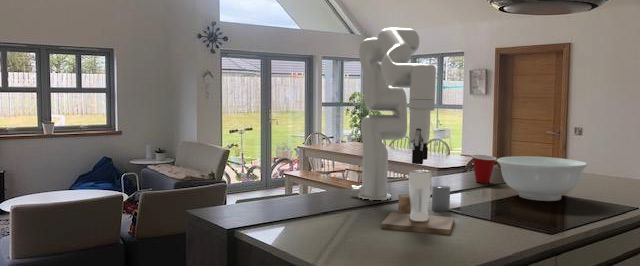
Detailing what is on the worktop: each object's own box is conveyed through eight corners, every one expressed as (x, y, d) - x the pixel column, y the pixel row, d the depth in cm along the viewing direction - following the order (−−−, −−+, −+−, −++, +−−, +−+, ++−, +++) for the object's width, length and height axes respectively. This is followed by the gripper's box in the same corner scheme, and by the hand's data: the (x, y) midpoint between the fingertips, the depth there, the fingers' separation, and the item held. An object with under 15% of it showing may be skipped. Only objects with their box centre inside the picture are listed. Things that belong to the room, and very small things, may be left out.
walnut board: (381, 228, 167) (381, 223, 167) (391, 216, 182) (391, 212, 182) (449, 234, 161) (449, 229, 161) (454, 222, 176) (454, 217, 176)
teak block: (400, 215, 185) (401, 197, 185) (398, 211, 190) (398, 194, 190) (415, 215, 186) (416, 197, 185) (412, 212, 190) (413, 194, 190)
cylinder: (430, 210, 192) (431, 187, 192) (432, 207, 198) (433, 184, 197) (448, 212, 191) (449, 189, 190) (450, 208, 196) (450, 186, 196)
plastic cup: (488, 185, 245) (489, 158, 244) (466, 182, 252) (467, 155, 251) (500, 182, 252) (501, 156, 251) (477, 179, 260) (478, 153, 259)
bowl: (498, 187, 240) (500, 153, 239) (582, 193, 228) (584, 158, 227) (492, 201, 210) (494, 162, 209) (588, 209, 198) (590, 168, 197)
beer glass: (430, 223, 168) (432, 173, 167) (407, 222, 169) (408, 172, 168) (430, 218, 175) (432, 170, 174) (408, 216, 176) (409, 169, 175)
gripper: (413, 103, 178) (411, 157, 180) (404, 106, 162) (402, 164, 164) (437, 104, 176) (435, 158, 178) (430, 107, 160) (428, 166, 161)
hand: (419, 161), depth 171 cm, fingers open, 9 cm apart
